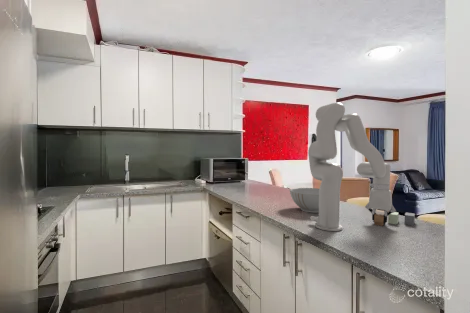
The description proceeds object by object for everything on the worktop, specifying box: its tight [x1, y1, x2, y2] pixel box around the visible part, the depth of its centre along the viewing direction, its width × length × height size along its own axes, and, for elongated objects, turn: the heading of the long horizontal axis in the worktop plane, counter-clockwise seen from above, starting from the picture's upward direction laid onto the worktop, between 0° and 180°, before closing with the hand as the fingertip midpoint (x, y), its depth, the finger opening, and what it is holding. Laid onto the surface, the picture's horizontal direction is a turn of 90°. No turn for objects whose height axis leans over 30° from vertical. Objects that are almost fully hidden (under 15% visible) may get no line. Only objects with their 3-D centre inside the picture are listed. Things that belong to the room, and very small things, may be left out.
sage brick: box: [387, 211, 400, 225], centre depth 139 cm, size 7×4×5 cm, turn 143°
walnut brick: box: [373, 209, 385, 227], centre depth 136 cm, size 7×4×5 cm, turn 143°
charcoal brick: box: [403, 212, 416, 226], centre depth 138 cm, size 7×4×5 cm, turn 143°
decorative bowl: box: [289, 187, 320, 214], centre depth 164 cm, size 27×27×12 cm
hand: (379, 222), depth 135 cm, fingers closed on walnut brick, 3 cm apart
